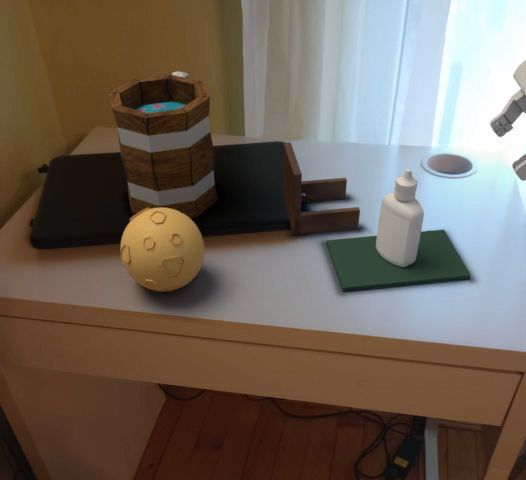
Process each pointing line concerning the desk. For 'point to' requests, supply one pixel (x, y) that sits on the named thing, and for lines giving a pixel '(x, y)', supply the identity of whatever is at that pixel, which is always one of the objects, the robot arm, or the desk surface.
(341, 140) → the desk surface
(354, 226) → the holder
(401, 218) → the eye dropper bottle
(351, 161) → the desk surface
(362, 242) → the mat
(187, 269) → the stress ball
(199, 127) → the mug
